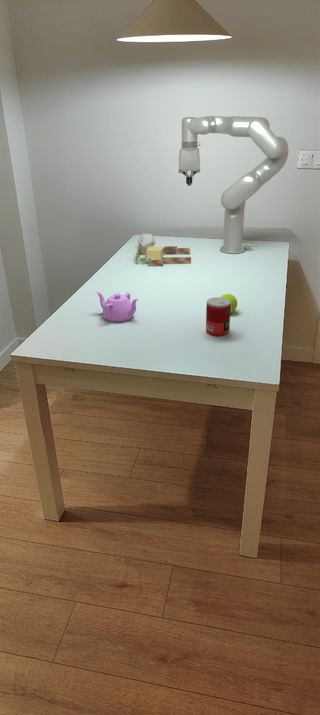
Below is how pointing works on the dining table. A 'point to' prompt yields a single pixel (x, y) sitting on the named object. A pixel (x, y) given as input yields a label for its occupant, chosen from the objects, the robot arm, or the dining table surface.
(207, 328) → the canned food
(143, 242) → the die
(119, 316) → the teapot
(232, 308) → the tennis ball
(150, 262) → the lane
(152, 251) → the block
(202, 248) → the dining table surface
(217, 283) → the dining table surface
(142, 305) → the dining table surface
